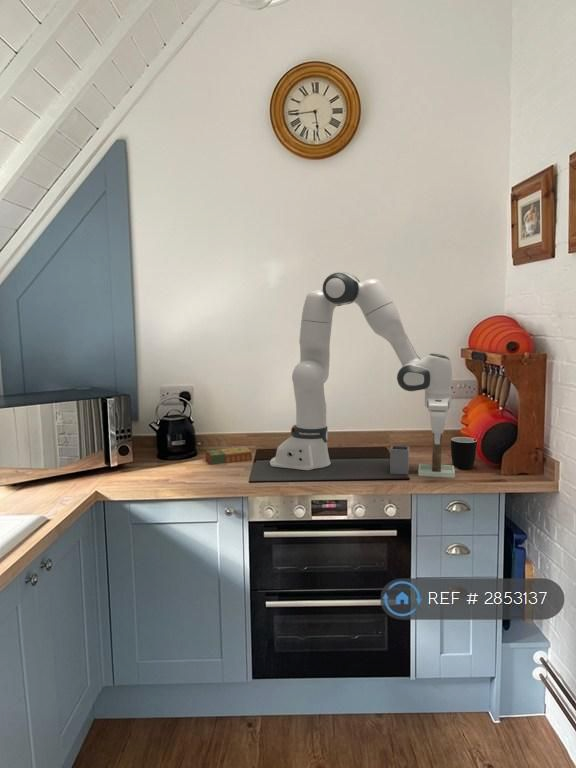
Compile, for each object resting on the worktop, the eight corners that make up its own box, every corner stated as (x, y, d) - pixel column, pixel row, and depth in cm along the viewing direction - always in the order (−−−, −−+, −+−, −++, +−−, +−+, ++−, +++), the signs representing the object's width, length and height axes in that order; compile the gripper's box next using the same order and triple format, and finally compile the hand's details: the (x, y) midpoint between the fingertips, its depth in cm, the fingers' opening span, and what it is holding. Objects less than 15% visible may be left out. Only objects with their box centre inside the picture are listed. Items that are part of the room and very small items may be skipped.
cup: (389, 475, 207) (390, 449, 206) (391, 470, 213) (391, 445, 212) (408, 476, 206) (408, 450, 205) (408, 471, 212) (409, 446, 211)
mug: (480, 470, 213) (481, 442, 211) (455, 470, 212) (456, 442, 211) (466, 461, 225) (467, 434, 223) (443, 462, 224) (444, 435, 222)
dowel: (431, 473, 207) (432, 433, 205) (431, 471, 209) (432, 431, 208) (440, 474, 206) (441, 434, 204) (440, 471, 209) (441, 432, 207)
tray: (418, 477, 204) (418, 471, 204) (418, 469, 214) (418, 463, 214) (454, 479, 202) (455, 473, 201) (453, 471, 211) (453, 465, 211)
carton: (252, 461, 228) (251, 450, 228) (210, 466, 223) (210, 454, 222) (245, 456, 236) (245, 445, 236) (205, 460, 230) (205, 449, 230)
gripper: (428, 396, 215) (427, 434, 217) (428, 405, 195) (427, 447, 197) (446, 397, 214) (445, 435, 216) (448, 406, 194) (447, 448, 196)
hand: (437, 441), depth 206 cm, fingers open, 7 cm apart
